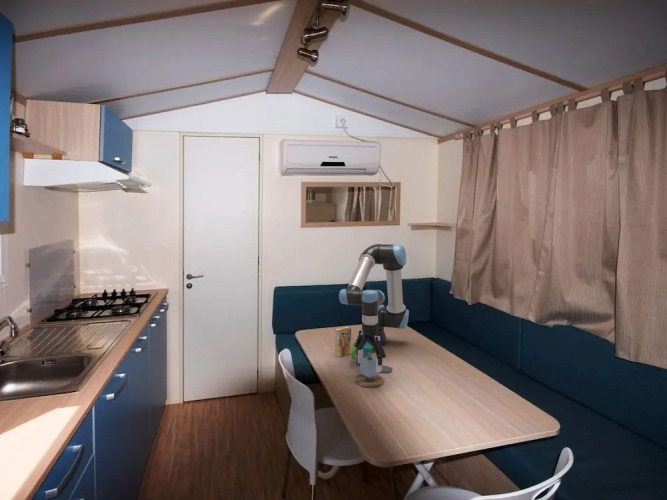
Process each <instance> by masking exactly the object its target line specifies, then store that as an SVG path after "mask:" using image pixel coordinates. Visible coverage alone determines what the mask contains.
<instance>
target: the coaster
mask: <svg viewBox="0 0 667 500" xmlns="http://www.w3.org/2000/svg"><path fill="white" fill-rule="evenodd" d="M392 372H393V367H391V366H390V365H389V366H388V365H383V364H382V371H381V372H379V374H390V373H392Z"/></svg>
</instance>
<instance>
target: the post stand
mask: <svg viewBox="0 0 667 500" xmlns="http://www.w3.org/2000/svg"><path fill="white" fill-rule="evenodd" d="M354 382H355V384H356V385H357V386H359V387H362V388H369V389H374V388H379V387H382V386H383V385H385V379H384V378H383V376H381V375H375V376H372V377H367V376H365V375H363V374H359V375H357V376H355V378H354Z"/></svg>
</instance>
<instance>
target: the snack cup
mask: <svg viewBox="0 0 667 500" xmlns="http://www.w3.org/2000/svg"><path fill="white" fill-rule="evenodd" d="M355 343H356V341H355V342H354V343H353V348H352V349H351V359H352V360H356V363H357V364H358V365H359V364H360V363H358V350H357V348H356V347H355ZM372 354H373V355H375V354H376V353H375V351H374V349H373V347H372V346H371V344H369V343H368V342H366V344H365V345H364V347H363V358H364V357H368V356H372Z"/></svg>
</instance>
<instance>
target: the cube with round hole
mask: <svg viewBox="0 0 667 500" xmlns="http://www.w3.org/2000/svg"><path fill="white" fill-rule="evenodd" d="M359 366H360V367H359V368H360V370H359V371H360V372H359V373H360V375H365V376H367V377H372V376H375V375H378V376H380V373H379V372H376V357H374V356H372V355H371V356H368V357H364V358H360V365H359Z"/></svg>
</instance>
